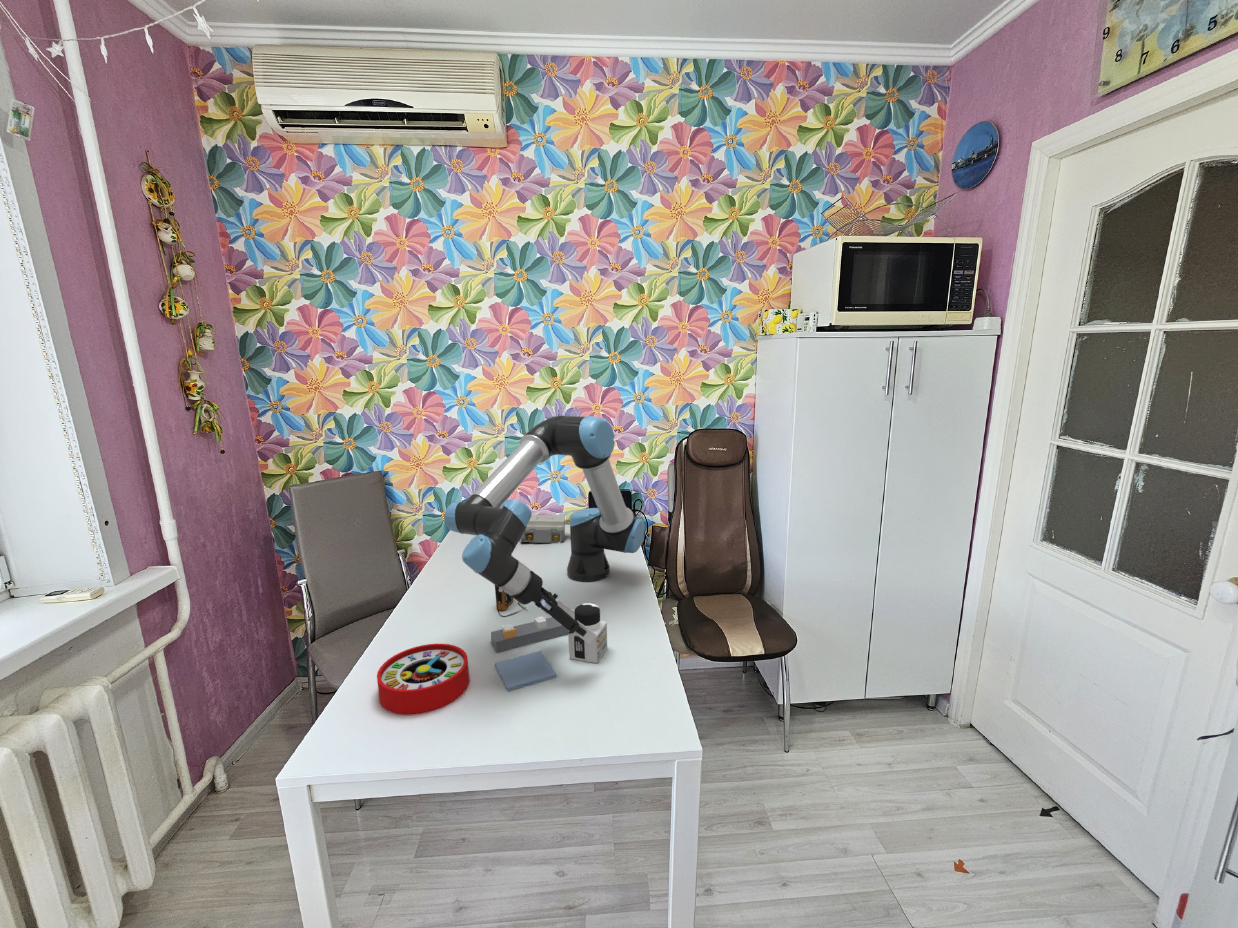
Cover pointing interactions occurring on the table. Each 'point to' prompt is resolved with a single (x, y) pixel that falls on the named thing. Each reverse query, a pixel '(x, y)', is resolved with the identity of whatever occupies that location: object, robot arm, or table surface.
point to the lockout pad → (524, 670)
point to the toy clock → (423, 678)
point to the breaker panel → (527, 633)
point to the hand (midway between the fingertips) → (581, 626)
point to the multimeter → (504, 601)
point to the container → (591, 620)
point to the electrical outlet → (545, 529)
